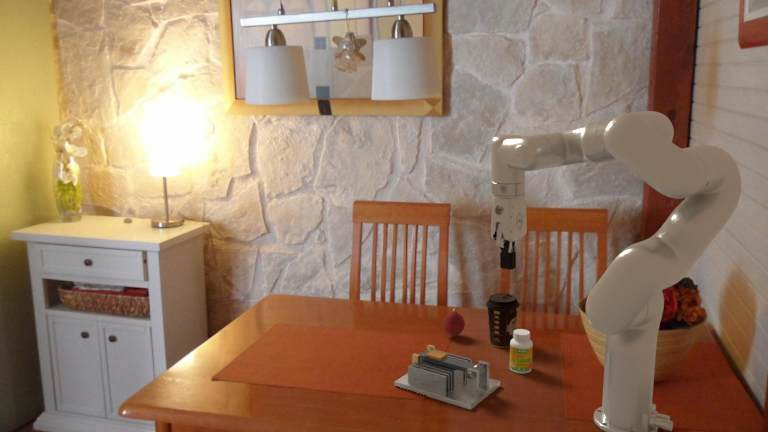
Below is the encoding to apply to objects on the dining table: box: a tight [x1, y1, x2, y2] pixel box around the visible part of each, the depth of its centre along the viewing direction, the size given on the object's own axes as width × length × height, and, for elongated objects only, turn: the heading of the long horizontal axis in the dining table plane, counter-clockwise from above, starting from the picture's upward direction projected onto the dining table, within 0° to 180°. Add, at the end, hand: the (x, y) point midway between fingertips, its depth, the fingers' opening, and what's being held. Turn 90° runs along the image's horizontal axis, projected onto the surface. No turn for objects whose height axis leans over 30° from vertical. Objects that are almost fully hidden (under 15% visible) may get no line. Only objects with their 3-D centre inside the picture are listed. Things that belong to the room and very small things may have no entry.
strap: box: [419, 349, 486, 376], centre depth 158 cm, size 16×3×2 cm, turn 54°
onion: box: [442, 308, 466, 338], centre depth 188 cm, size 6×6×8 cm
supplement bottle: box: [509, 328, 534, 375], centre depth 167 cm, size 5×5×10 cm
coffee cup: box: [485, 293, 521, 349], centre depth 182 cm, size 9×8×13 cm
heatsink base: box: [394, 344, 501, 411], centre depth 159 cm, size 20×14×7 cm
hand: (507, 268), depth 159 cm, fingers closed
